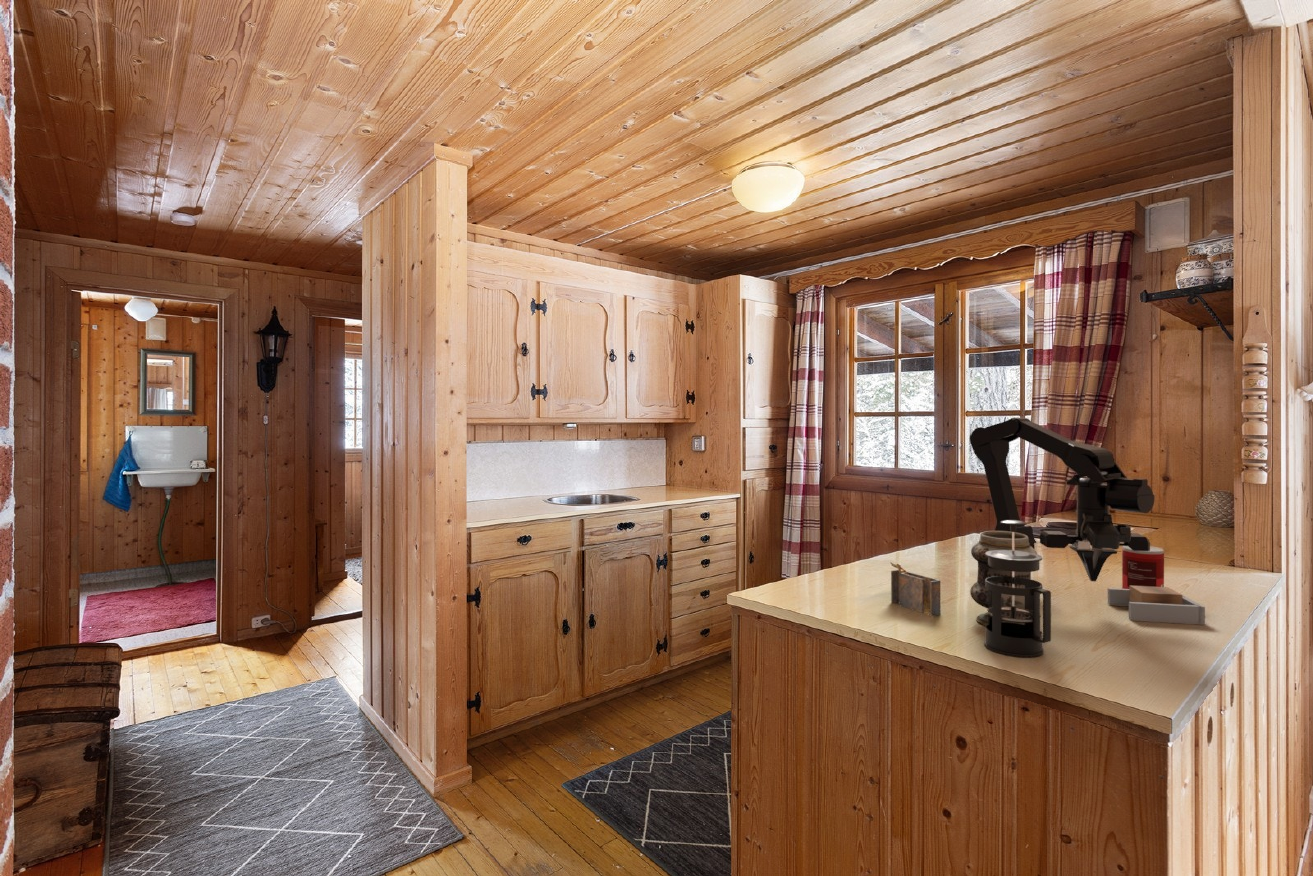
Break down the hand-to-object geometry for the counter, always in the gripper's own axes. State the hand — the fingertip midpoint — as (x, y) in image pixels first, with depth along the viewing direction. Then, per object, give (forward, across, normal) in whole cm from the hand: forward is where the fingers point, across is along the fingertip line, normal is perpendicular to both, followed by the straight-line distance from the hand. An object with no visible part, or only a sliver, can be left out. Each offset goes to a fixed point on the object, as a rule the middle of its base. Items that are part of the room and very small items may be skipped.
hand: (1092, 581), depth 138 cm
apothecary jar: (+6, -20, -13) cm, 25 cm away
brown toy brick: (+6, +11, 0) cm, 13 cm away
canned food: (+6, +15, +15) cm, 22 cm away
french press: (+7, -21, -29) cm, 36 cm away
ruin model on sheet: (+7, -36, -6) cm, 37 cm away
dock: (+6, +11, 0) cm, 13 cm away
